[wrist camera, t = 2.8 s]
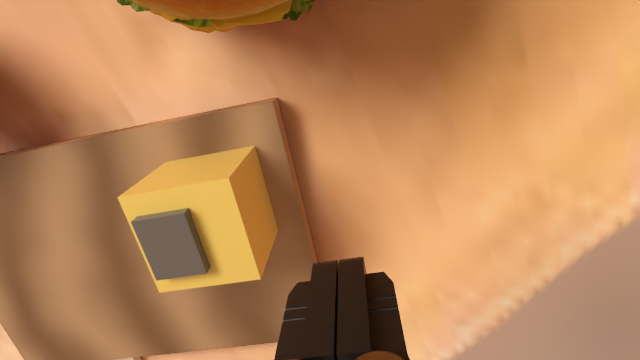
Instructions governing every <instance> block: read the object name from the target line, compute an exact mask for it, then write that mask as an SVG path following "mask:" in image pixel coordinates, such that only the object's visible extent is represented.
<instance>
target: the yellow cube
mask: <svg viewBox="0 0 640 360" xmlns="http://www.w3.org/2000/svg"><path fill="white" fill-rule="evenodd" d="M117 198H118V200H119V202H120V205H121V207H122V209H123V211H124V214H125V216H126V218H127V220H128V223H129V225H130V227H131V230H132V232H133V234H134V236H135V239H136V241H137V243H138V245H139V248H140V250H141V252H142V254H143V257H144V259H145V261H146V264H147V266H148V268H149V270H150V273H151V275H152V277H153V279H154V282H155V284H156V286H157V289H158V291H159V293H162V292H169V291H177V290H184V289H192V288H199V287H207V286H215V285H222V284H230V283H237V282H245V281H252V280H260V279H261V278H262V275H263V272H264V269H265V266H266V263H267V260H268V258H269V255H270V252H271V249H272V246H273V243H274V241H275V238H276V235H277V232H278V227H277V224H276V220H275V216H274V213H273V209H272V206H271V202H270V199H269V195H268V192H267V188H266V185H265V181H264V177H263V174H262V170H261V167H260V163H259V160H258V156H257V153H256V149H255V146H250V147H245V148H240V149H234V150H229V151H223V152H218V153H213V154H207V155H202V156H196V157H191V158H186V159H180V160H175V161H169V162H165V163H164V164H162V165H161V166H160V167H158V168H157V169H156V170H154V171H153V172H151V173H150V174H149V175H147V176H146V177H145V178H143V179H142V180H140V181H139V182H138V183H136V184H135V185H134V186H132V187H131V188H130V189H128V190H127V191H125V192H124V193H123V194H121V195H120V196H119V197H117Z"/></svg>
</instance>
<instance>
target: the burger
mask: <svg viewBox="0 0 640 360" xmlns="http://www.w3.org/2000/svg"><path fill="white" fill-rule="evenodd" d="M117 2H119V3H120V4H121V5H130V6H131V7H132V8H133V9H134V10H135V11H136V12H139V11H151V12H152V13H154V14H157V15H160V16H162V17H163V18H165V19H167V20H169V21H171V22H176V23H181V24H182V25H184V26H186V27H188V28H190V29H191V30H196V31H202V32H207V33H210V32H212V31H214V30H217V31H221V32H226V31H228V30H230V29H232V28H235V27H237V26H248V25H256V24H264V23H270V22H276V21H281V20H284V19H286V18H288V17H289V18H290V19H291V20H292V21H294V20H297V18H298V17H299V15H300V14H302V13H307V12H309V10H310V8H311V7H312V5H313V3H314V2H315V1H314V0H117Z"/></svg>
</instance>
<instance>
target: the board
mask: <svg viewBox="0 0 640 360" xmlns="http://www.w3.org/2000/svg"><path fill="white" fill-rule="evenodd" d="M250 146H255V149H256V153H257V156H258V160H259V163H260V167H261V170H262V174H263V177H264V181H265V185H266V188H267V192H268V195H269V199H270V202H271V206H272V209H273V213H274V216H275V220H276V224H277V227H278V232H277V235H276V238H275V241H274V243H273V246H272V249H271V252H270V255H269V258H268V260H267V263H266V266H265V269H264V272H263V275H262V278H261V279H260V280H252V281H245V282H237V283H230V284H222V285H215V286H207V287H199V288H192V289H184V290H177V291H169V292H162V293H159V291H158V289H157V286H156V284H155V282H154V279H153V277H152V275H151V273H150V270H149V268H148V266H147V264H146V261H145V259H144V257H143V254H142V252H141V250H140V248H139V245H138V243H137V241H136V239H135V236H134V234H133V232H132V230H131V227H130V225H129V223H128V220H127V218H126V216H125V214H124V211H123V209H122V207H121V205H120V202H119V200H118V198H117V197H119V196H120V195H121V194H123V193H124V192H125V191H127V190H128V189H130V188H131V187H132V186H134V185H135V184H136V183H138V182H139V181H140V180H142V179H143V178H145V177H146V176H147V175H149V174H150V173H151V172H153V171H154V170H156V169H157V168H158V167H160V166H161V165H162V164H164V163H165V162H169V161H175V160H180V159H186V158H191V157H196V156H202V155H207V154H213V153H218V152H223V151H229V150H234V149H240V148H245V147H250ZM313 263H318V261H317V257H316V253H315V249H314V245H313V240H312V236H311V232H310V228H309V224H308V220H307V216H306V212H305V208H304V204H303V200H302V196H301V192H300V188H299V184H298V180H297V176H296V172H295V168H294V164H293V160H292V155H291V151H290V147H289V143H288V139H287V135H286V131H285V127H284V123H283V119H282V115H281V111H280V107H279V103H278V99H277V98H272V99H268V100H263V101H258V102H253V103H248V104H243V105H238V106H233V107H228V108H223V109H218V110H213V111H208V112H203V113H199V114H194V115H189V116H184V117H179V118H174V119H169V120H164V121H159V122H154V123H149V124H144V125H139V126H135V127H130V128H125V129H120V130H115V131H110V132H105V133H100V134H95V135H90V136H85V137H80V138H75V139H70V140H66V141H61V142H56V143H51V144H46V145H41V146H36V147H31V148H26V149H21V150H16V151H11V152H6V153H1V154H0V323H1V325H2V326H3V328H4V329H5V331H6V332H7V334H8V336H9V337H10V339H11V340H12V342H13V343H14V345H15V346H16V348H17V349H18V351H19V353H20V354H21V356H22V357H23V359H24V360H141V358H140V357H142V356H151V355H161V354H170V353H179V352H189V351H198V350H207V349H217V348H226V347H235V346H245V345H254V344H263V343H273V342H278V340H279V336H280V331H281V326H282V322H283V317H284V312H285V311H286V309H285V307H286V303H287V298H288V294H289V293H290V292H291V290H292V289H293V288H294V286H295V285H296V284H297V283H298V282H306V281H311V273H312V266H313Z"/></svg>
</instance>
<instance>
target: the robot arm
mask: <svg viewBox="0 0 640 360" xmlns="http://www.w3.org/2000/svg"><path fill="white" fill-rule="evenodd" d="M285 309H286V311H285V312H284V317H283V322H282V326H281V331H280V336H279V340H278V345H277V350H276V354H275V359H274V360H410V359H409V357H408V354H407V350H406V345H405V340H404V335H403V330H402V325H401V320H400V315H399V310H398V304H397V299H396V294H395V289H394V284H393V282H392V280H391V279H390V278H389V277H388V276H387V275H386V274H385V273H384V272H379V273H370V274H366V269H365V263H364V258H363V257H358V258H350V259H342V260H339V263H338V261H337V260H335V261H327V262H319V263H313V266H312V273H311V281H306V282H298V283H297V284H296V285H295V286H294V288H293V289H292V290H291V292H290V293H289V294H288V298H287V303H286V307H285Z"/></svg>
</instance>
